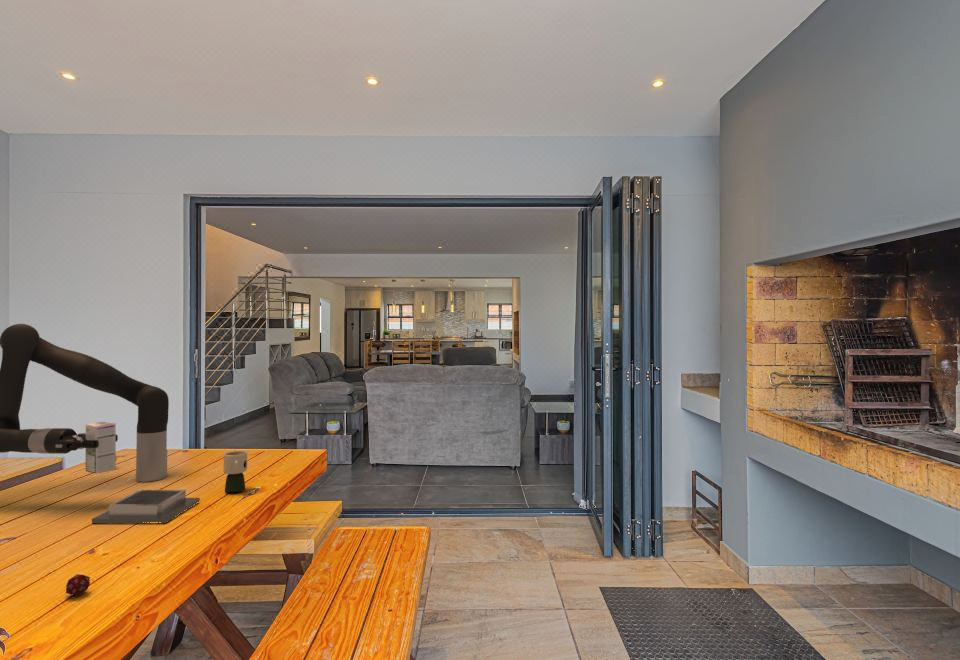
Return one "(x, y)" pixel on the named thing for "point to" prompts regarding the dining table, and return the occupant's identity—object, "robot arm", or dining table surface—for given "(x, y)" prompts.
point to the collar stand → (147, 507)
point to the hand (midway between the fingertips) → (107, 441)
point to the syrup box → (101, 447)
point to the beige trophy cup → (235, 470)
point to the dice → (77, 584)
